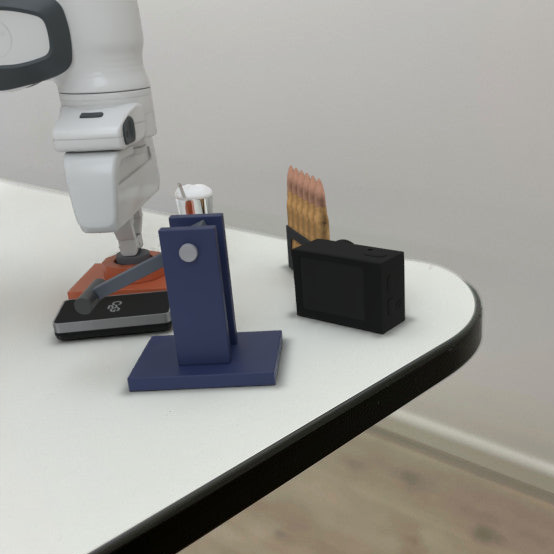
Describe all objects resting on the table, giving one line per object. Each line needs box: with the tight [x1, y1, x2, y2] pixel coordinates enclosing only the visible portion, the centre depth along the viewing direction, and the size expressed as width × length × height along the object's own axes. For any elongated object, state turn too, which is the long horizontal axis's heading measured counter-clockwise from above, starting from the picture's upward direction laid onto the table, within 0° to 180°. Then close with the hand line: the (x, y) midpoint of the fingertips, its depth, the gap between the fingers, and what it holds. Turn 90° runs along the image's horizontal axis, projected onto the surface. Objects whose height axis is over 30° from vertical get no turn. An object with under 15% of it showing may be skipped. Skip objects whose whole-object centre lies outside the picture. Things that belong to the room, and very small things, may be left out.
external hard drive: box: [52, 291, 173, 341], centre depth 76 cm, size 7×11×2 cm, turn 100°
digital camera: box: [292, 238, 406, 335], centre depth 75 cm, size 10×5×7 cm, turn 56°
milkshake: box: [174, 182, 214, 215], centre depth 94 cm, size 4×5×10 cm
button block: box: [66, 249, 167, 300], centre depth 84 cm, size 12×10×4 cm
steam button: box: [115, 247, 151, 265], centre depth 83 cm, size 4×4×2 cm
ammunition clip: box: [285, 165, 331, 271], centre depth 85 cm, size 11×2×12 cm, turn 24°
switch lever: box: [74, 220, 207, 314], centre depth 63 cm, size 12×5×2 cm, turn 91°
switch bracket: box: [126, 212, 284, 392], centre depth 64 cm, size 12×9×13 cm
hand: (132, 252), depth 83 cm, fingers closed, pressing on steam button
